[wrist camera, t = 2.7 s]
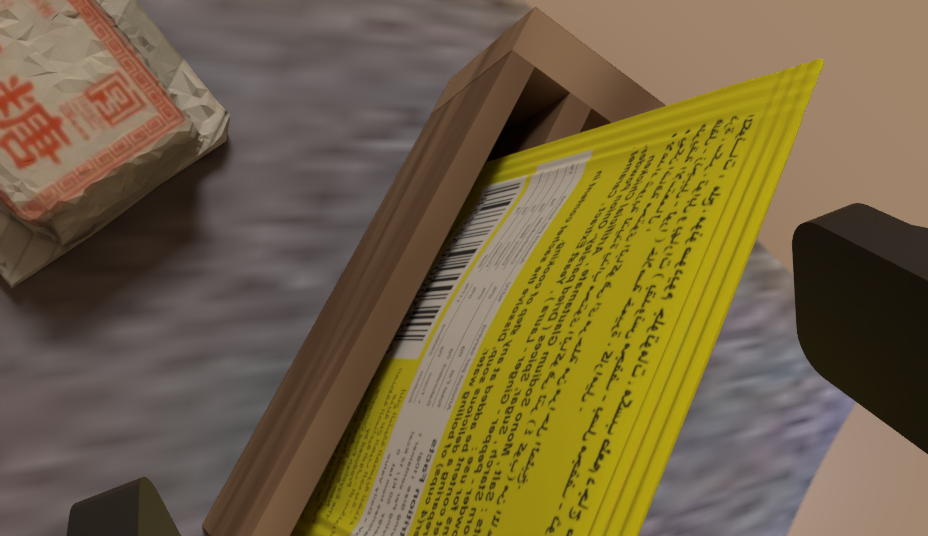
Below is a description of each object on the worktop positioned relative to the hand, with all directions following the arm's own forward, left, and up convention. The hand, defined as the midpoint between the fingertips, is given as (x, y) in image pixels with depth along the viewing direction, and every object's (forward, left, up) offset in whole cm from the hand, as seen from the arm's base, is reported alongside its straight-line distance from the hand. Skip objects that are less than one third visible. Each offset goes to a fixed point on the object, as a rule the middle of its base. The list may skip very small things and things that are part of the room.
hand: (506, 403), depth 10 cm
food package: (+3, +4, -25) cm, 25 cm away
